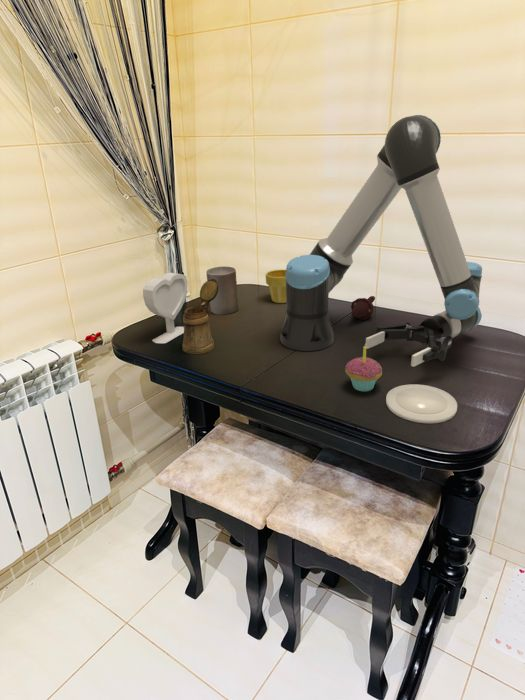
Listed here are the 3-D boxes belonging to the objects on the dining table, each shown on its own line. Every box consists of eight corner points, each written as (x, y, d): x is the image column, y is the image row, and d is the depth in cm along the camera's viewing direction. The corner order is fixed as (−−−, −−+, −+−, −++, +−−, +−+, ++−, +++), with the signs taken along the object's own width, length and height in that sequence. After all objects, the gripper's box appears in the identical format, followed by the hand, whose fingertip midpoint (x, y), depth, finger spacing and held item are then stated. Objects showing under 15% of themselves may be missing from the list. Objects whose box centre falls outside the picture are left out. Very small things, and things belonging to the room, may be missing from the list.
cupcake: (381, 397, 115) (384, 349, 110) (343, 394, 117) (345, 347, 112) (380, 379, 123) (384, 334, 118) (345, 376, 125) (347, 332, 119)
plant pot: (267, 295, 182) (267, 268, 178) (296, 295, 181) (296, 268, 177) (265, 305, 173) (264, 277, 169) (295, 305, 172) (295, 277, 168)
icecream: (366, 308, 149) (385, 298, 161) (345, 298, 152) (365, 289, 164) (359, 329, 152) (378, 317, 164) (338, 319, 155) (358, 308, 167)
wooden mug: (230, 339, 147) (227, 280, 139) (200, 357, 137) (194, 294, 129) (207, 333, 152) (202, 275, 144) (175, 350, 142) (169, 288, 134)
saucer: (378, 414, 109) (378, 409, 108) (394, 383, 121) (394, 378, 120) (451, 430, 103) (452, 425, 102) (460, 395, 115) (461, 391, 114)
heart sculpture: (160, 345, 144) (153, 285, 137) (147, 342, 147) (139, 283, 139) (193, 327, 157) (188, 270, 149) (180, 324, 159) (174, 268, 151)
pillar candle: (241, 305, 173) (239, 262, 167) (233, 315, 164) (230, 270, 158) (214, 304, 175) (211, 262, 169) (205, 314, 167) (201, 270, 160)
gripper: (481, 356, 127) (432, 384, 115) (399, 328, 144) (349, 349, 132) (486, 328, 123) (436, 354, 111) (401, 303, 141) (350, 323, 129)
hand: (388, 352), depth 122 cm, fingers open, 13 cm apart
